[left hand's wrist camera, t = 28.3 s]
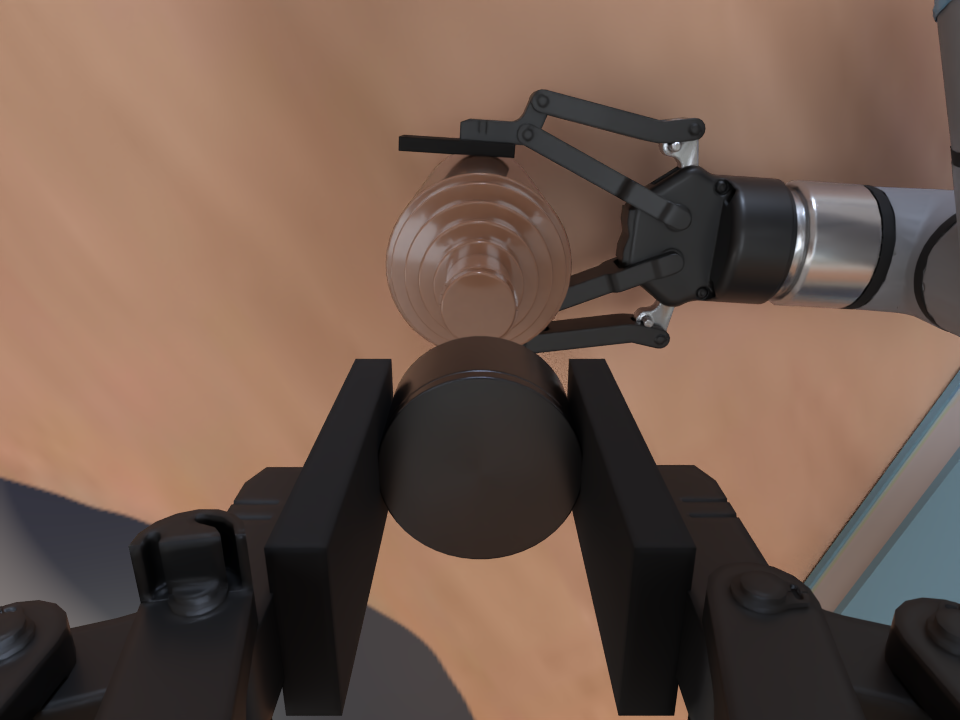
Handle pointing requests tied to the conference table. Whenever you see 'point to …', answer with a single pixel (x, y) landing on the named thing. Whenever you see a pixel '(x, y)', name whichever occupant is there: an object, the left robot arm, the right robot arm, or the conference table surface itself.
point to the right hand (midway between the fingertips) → (400, 219)
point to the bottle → (478, 254)
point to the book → (902, 528)
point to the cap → (480, 449)
